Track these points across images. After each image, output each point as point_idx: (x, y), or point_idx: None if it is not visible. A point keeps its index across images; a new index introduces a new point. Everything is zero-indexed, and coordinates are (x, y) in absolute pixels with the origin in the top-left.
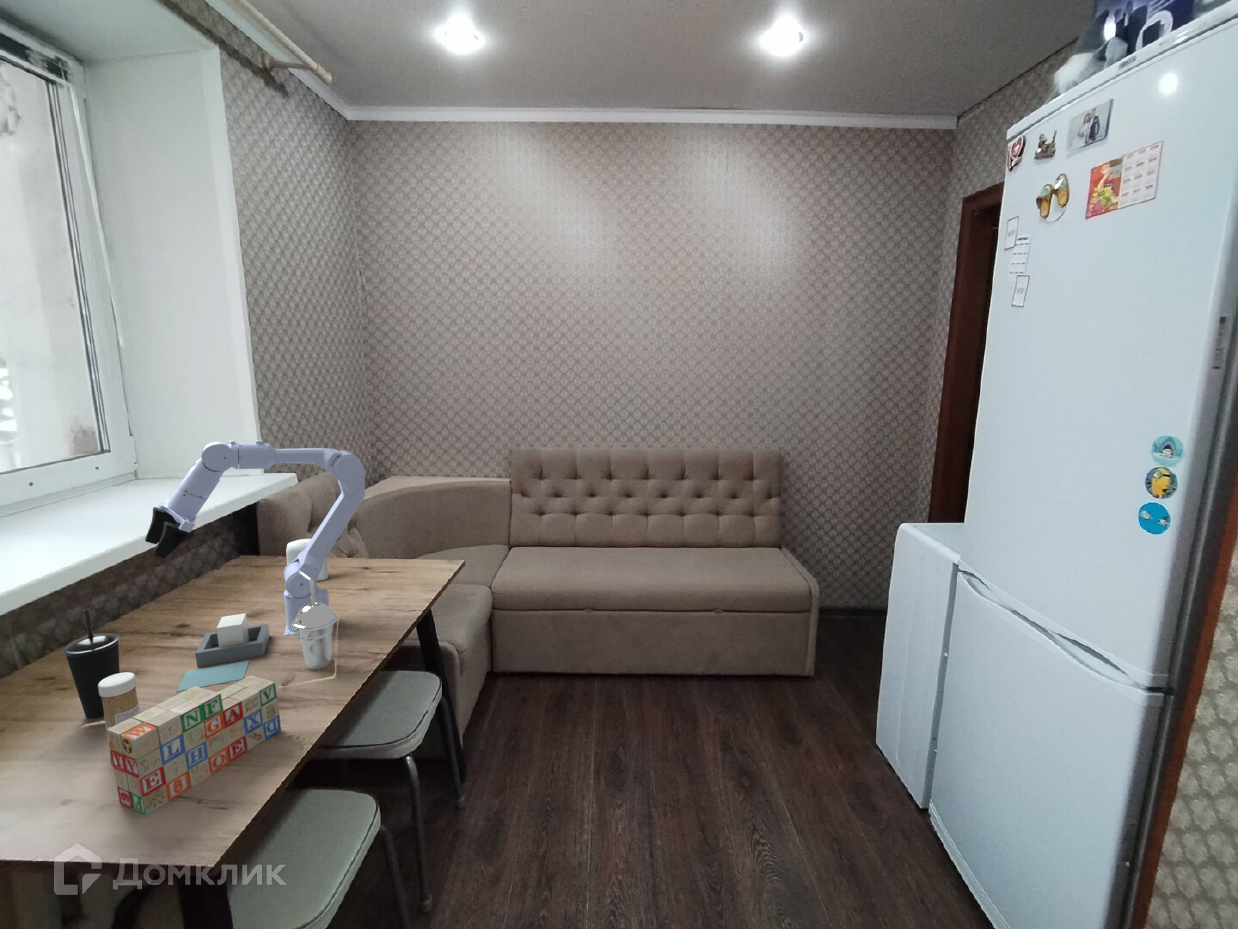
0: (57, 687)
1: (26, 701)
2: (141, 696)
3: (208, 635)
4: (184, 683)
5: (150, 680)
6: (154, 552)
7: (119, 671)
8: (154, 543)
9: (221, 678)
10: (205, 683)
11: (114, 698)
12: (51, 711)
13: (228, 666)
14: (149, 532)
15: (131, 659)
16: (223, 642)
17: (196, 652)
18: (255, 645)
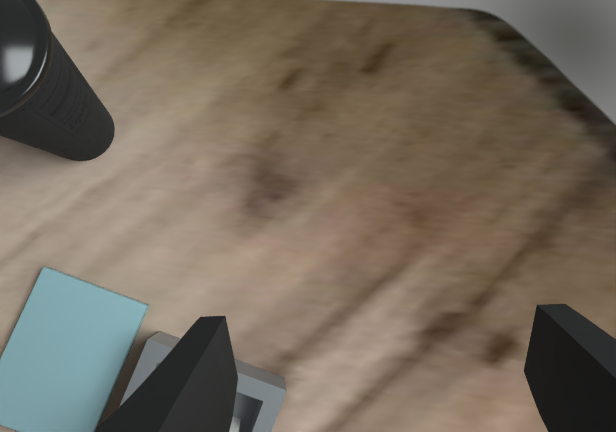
0: (307, 71)
1: (278, 20)
2: (105, 202)
3: (261, 393)
4: (73, 289)
5: (183, 230)
6: (202, 326)
7: (23, 142)
8: (527, 363)
9: (24, 369)
10: (28, 331)
11: None
12: (183, 53)
13: (88, 399)
14: (591, 361)
15: (353, 212)
16: None
17: (152, 342)
18: None
